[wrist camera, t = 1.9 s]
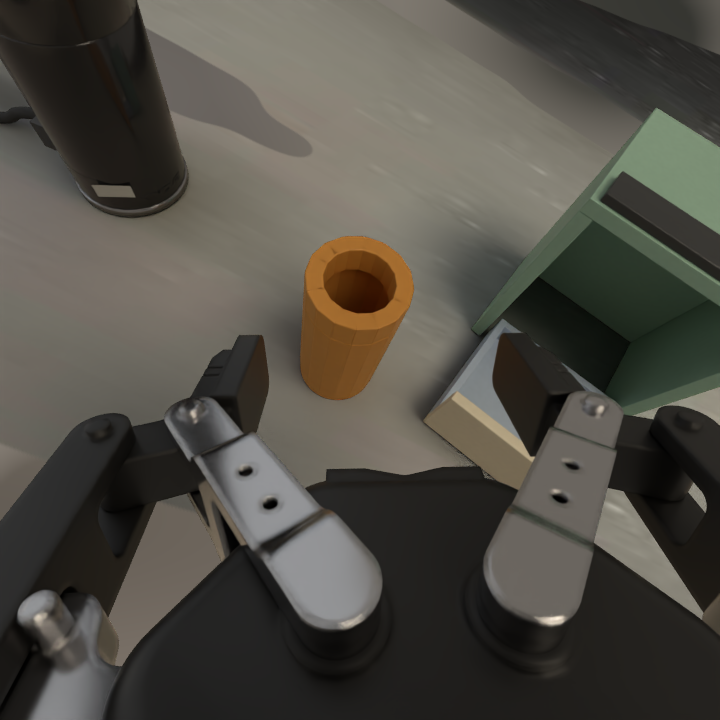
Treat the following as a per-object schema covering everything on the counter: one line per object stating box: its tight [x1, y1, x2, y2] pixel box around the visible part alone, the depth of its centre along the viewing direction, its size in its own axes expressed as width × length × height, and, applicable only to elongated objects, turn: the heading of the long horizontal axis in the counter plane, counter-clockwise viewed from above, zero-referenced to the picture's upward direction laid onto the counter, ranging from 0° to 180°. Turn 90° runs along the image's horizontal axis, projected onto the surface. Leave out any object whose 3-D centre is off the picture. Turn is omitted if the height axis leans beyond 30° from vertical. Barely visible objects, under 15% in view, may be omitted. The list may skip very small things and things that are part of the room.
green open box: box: [471, 108, 720, 416], centre depth 31 cm, size 14×11×17 cm
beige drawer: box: [423, 319, 607, 490], centre depth 32 cm, size 11×11×6 cm
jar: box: [300, 236, 414, 400], centre depth 28 cm, size 6×6×13 cm
